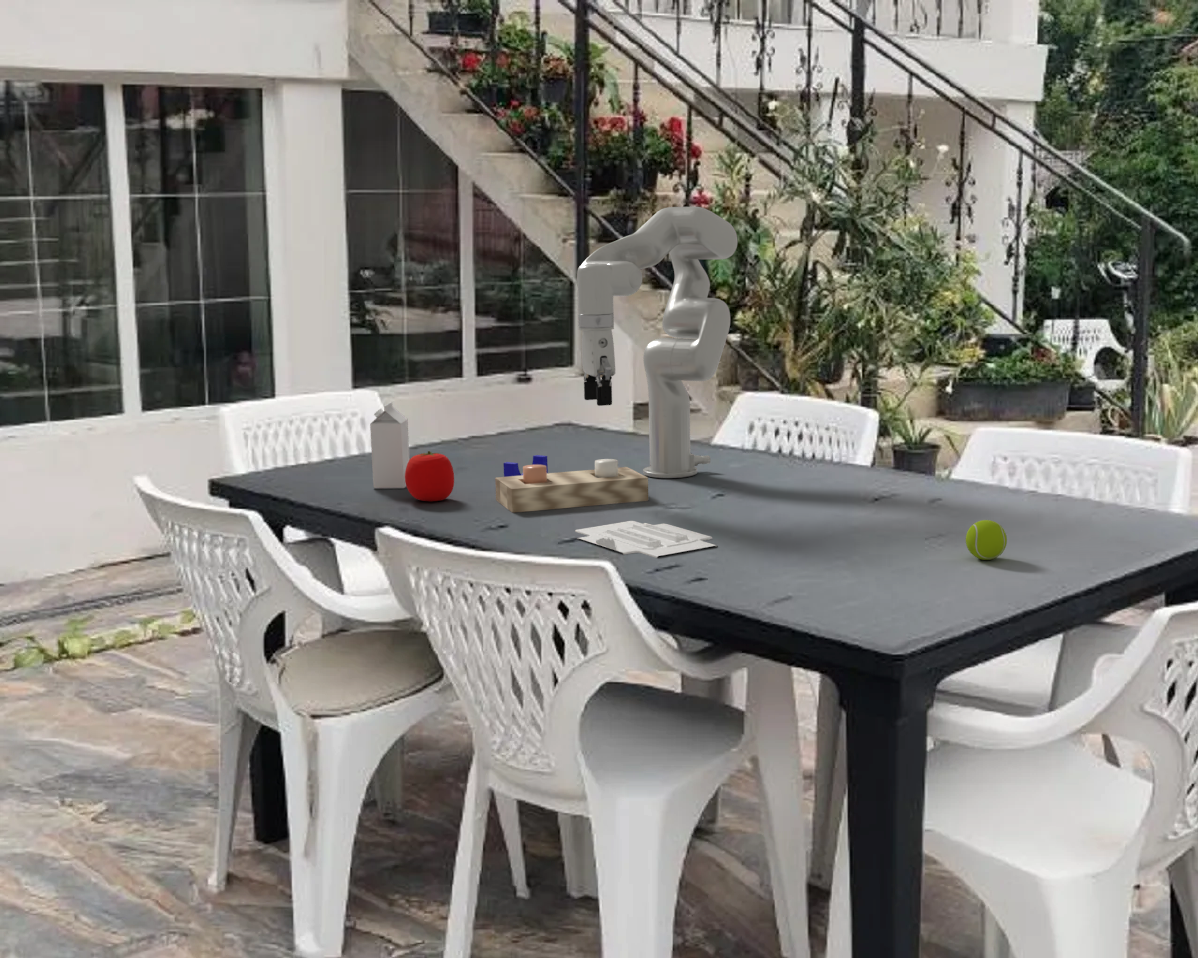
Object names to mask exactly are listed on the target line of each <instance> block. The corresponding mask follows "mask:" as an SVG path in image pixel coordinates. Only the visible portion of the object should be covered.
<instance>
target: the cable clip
mask: <svg viewBox="0 0 1198 958" xmlns="http://www.w3.org/2000/svg"><path fill="white" fill-rule="evenodd" d="M531 465H545V466H546V468H547V473H549V469H548V455H542V454H541V455H540V454H539V455H538V454H536V455H532V462H531ZM521 475H523V472H522V473H521V471H520V469H519V463H518V462H510V461H506V462H503V477H509V476H521Z"/></svg>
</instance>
